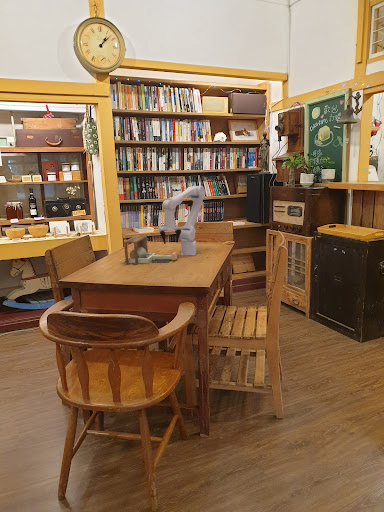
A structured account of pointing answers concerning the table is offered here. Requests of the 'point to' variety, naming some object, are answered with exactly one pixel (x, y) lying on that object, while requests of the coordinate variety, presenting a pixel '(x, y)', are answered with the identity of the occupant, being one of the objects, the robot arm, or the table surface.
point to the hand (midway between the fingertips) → (171, 242)
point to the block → (153, 256)
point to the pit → (161, 260)
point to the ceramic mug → (139, 253)
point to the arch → (136, 246)
